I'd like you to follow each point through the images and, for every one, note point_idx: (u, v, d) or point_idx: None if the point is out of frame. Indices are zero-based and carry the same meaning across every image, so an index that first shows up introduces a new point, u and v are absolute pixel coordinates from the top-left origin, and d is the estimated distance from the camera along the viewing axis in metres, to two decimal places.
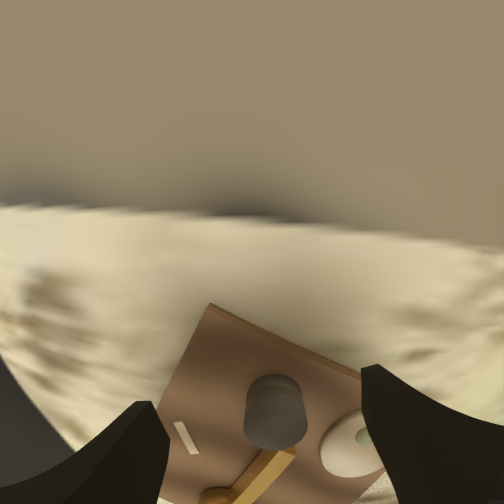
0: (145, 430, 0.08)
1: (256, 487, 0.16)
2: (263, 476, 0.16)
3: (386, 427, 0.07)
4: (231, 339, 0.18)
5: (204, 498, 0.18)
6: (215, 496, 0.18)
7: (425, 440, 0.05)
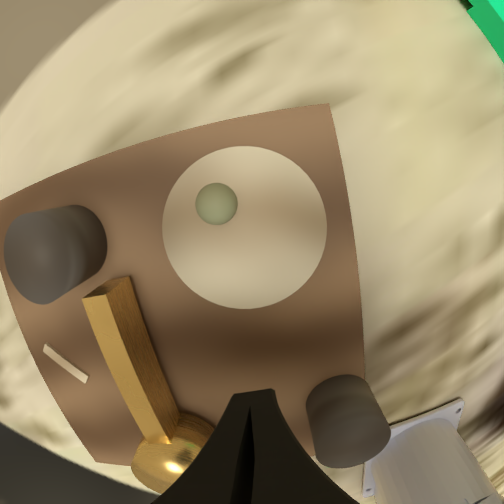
0: None
1: (126, 383, 0.11)
2: (111, 358, 0.11)
3: None
4: (10, 215, 0.13)
5: (141, 439, 0.14)
6: None
7: (254, 482, 0.05)
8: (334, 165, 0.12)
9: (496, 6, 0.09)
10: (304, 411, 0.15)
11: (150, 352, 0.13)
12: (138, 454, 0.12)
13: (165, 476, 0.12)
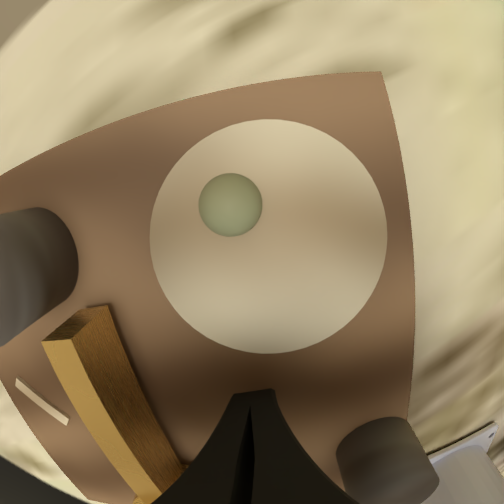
0: None
1: (111, 446, 0.08)
2: (88, 417, 0.07)
3: None
4: None
5: None
6: None
7: (254, 482, 0.05)
8: (391, 154, 0.08)
9: None
10: (333, 458, 0.11)
11: (141, 403, 0.09)
12: None
13: None
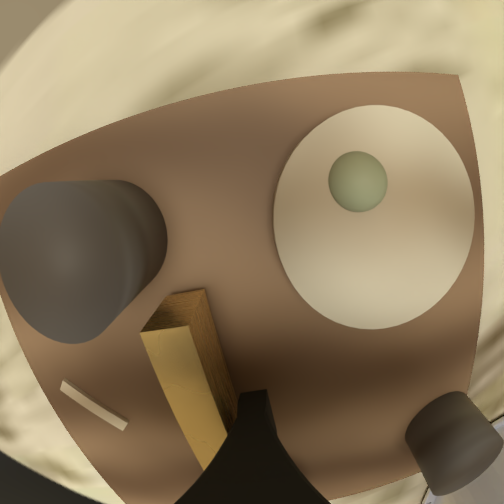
0: (269, 421, 0.08)
1: (209, 448, 0.07)
2: (188, 418, 0.07)
3: None
4: (9, 199, 0.09)
5: None
6: None
7: (235, 484, 0.05)
8: (468, 147, 0.08)
9: None
10: (402, 438, 0.11)
11: (232, 396, 0.09)
12: None
13: None
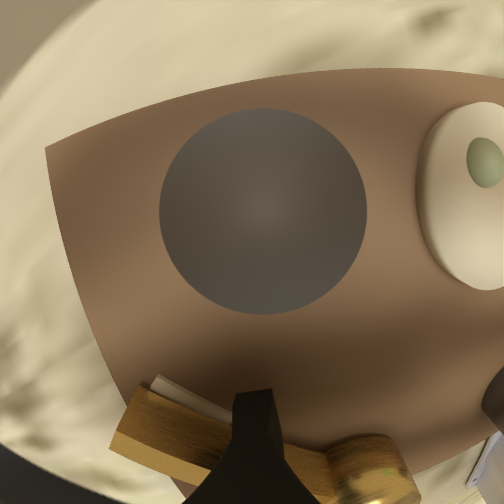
0: (275, 420, 0.08)
1: None
2: (189, 477, 0.08)
3: None
4: (102, 155, 0.08)
5: None
6: None
7: (228, 484, 0.05)
8: None
9: None
10: (479, 403, 0.11)
11: (230, 434, 0.09)
12: None
13: None
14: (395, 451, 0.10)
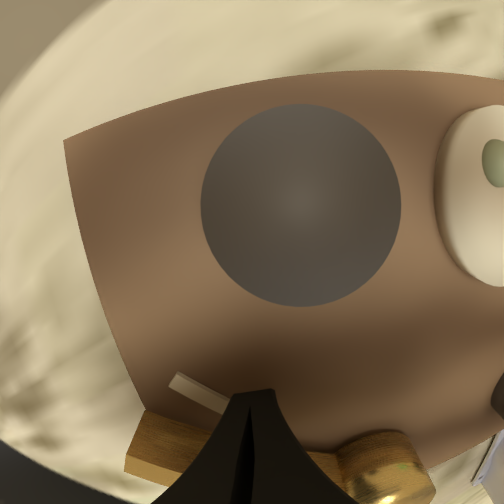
0: None
1: None
2: None
3: None
4: (125, 149, 0.08)
5: None
6: None
7: (254, 482, 0.05)
8: None
9: None
10: (489, 399, 0.11)
11: None
12: None
13: None
14: (405, 445, 0.10)
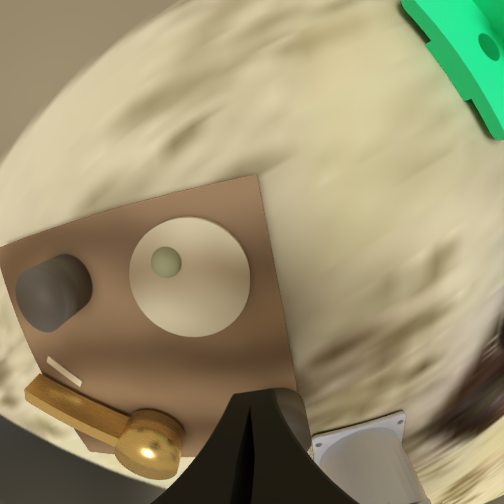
0: None
1: (69, 421, 0.16)
2: (53, 414, 0.16)
3: None
4: (16, 257, 0.16)
5: None
6: None
7: (254, 482, 0.05)
8: (260, 227, 0.16)
9: (454, 40, 0.12)
10: None
11: (75, 397, 0.18)
12: None
13: (141, 463, 0.16)
14: (162, 422, 0.18)
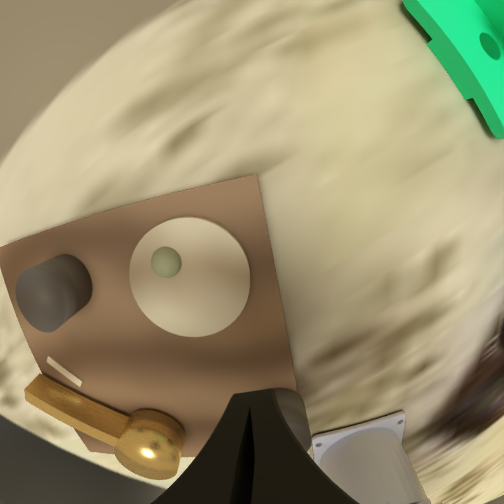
0: None
1: (69, 421, 0.16)
2: (53, 414, 0.16)
3: None
4: (16, 257, 0.16)
5: None
6: None
7: (254, 482, 0.05)
8: (260, 227, 0.16)
9: (455, 39, 0.12)
10: None
11: (75, 397, 0.18)
12: None
13: (141, 463, 0.16)
14: (162, 422, 0.18)
